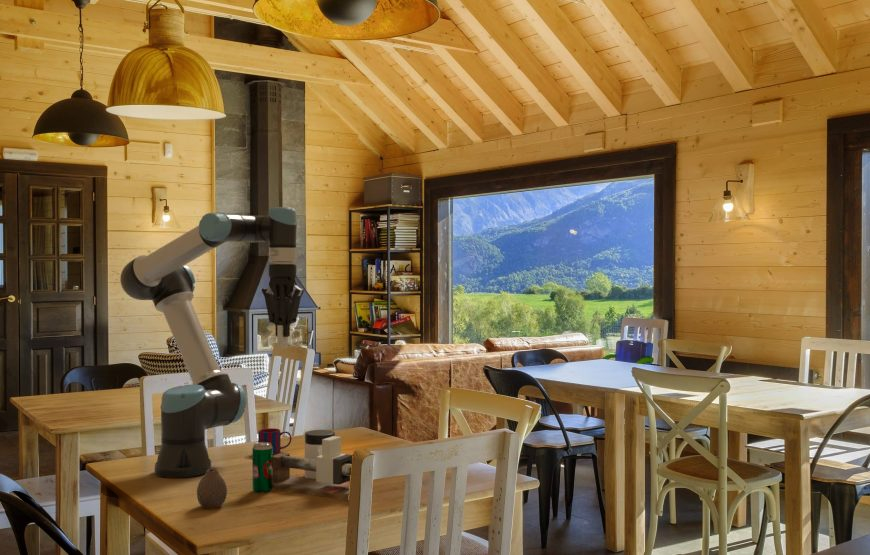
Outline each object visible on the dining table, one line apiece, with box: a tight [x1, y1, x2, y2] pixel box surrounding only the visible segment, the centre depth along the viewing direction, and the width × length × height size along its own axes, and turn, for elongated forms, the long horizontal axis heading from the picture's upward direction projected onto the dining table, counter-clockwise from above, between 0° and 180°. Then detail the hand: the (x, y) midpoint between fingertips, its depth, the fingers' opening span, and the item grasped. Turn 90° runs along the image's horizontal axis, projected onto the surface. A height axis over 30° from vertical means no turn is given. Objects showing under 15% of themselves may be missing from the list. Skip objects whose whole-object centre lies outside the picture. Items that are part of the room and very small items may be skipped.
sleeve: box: [316, 435, 347, 484], centre depth 216 cm, size 5×6×11 cm
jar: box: [304, 429, 336, 479], centre depth 231 cm, size 9×8×12 cm
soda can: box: [251, 442, 274, 494], centre depth 216 cm, size 5×5×12 cm
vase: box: [196, 468, 228, 510], centre depth 202 cm, size 7×7×9 cm
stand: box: [272, 452, 351, 501], centre depth 218 cm, size 26×10×8 cm, turn 63°
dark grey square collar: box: [333, 453, 354, 485], centre depth 215 cm, size 2×6×6 cm, turn 153°
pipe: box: [280, 455, 351, 476], centre depth 218 cm, size 24×3×3 cm, turn 63°
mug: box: [257, 428, 292, 455], centre depth 261 cm, size 7×10×7 cm
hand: (282, 348), depth 235 cm, fingers closed
